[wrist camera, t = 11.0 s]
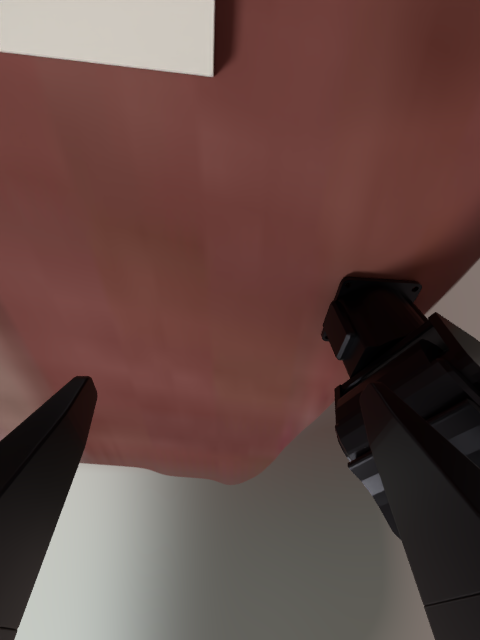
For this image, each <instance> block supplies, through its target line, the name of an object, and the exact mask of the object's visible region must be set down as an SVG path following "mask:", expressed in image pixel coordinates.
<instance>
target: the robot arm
mask: <svg viewBox="0 0 480 640" xmlns="http://www.w3.org/2000/svg"><path fill="white" fill-rule="evenodd" d="M349 282H350V283H349ZM346 283H349V284H348V285H345V284H346ZM414 287H415V288H414ZM413 288H414V289H413ZM421 289H422V286H421V285H420V283H419V282H417V281H405V280H389V279H373V278H357V277H346V278H344V279H342V280H341V282H340V285H339V287H338V290H337V293H336V296H335V298H334V301H332V302H331V304H330V306H329V309H328V312H327V315H326V317H325V320H324V323H323V327H324V328H323V331H322V333H321V336H322V339H323V340H324V341H329V342H330V344H331V347H332V349H333V351H334V354H335V356H336V358H337V359H338V360H342V361H343V363H344V365H345V368H346V370H347V372H348V375H349V377H350V379H349V380H348V381H346V382H345V383H344V384H342V385H339V386H338V387H336V388H335V414H336V425H335V431H336V434H337V438H338V442H339V444H340V446H341V448H342V450H343V452H344V453H345V455H346V457H347V458H348V459H349V461H350V462H349V463H348V467H349V469H350V470H351V471H352V472H353V473H354V474H355V475H356V476H357V477H358V478H359V479H360V480H361V481H362V482H363V484H364V485H365V487H366V488H367V489H368V491H369V492H370V493H371V495H372V496H373V497H374V499H375V501H376V503H377V504H378V506H379V508H380V509H381V511H382V513H383V515H384V517H385V518H386V520H387V522H388V524H389V526H390V527H391V529H392V531H393V532H394V534H395V535H396V536H397V537H399V538H400V539H401V540H402V543H403V546H404V549H405V552H406V554H407V558H408V561H409V564H410V566H411V570H412V572H413V575H414V578H415V581H416V584H417V587H418V590H419V593H420V596H421V599H422V602H423V604H424V605H425V606H424V608H425V611H426V614H427V617H428V620H429V623H430V626H431V629H432V632H433V635H434V638H435V640H480V342H479V341H478V340H476V339H475V338H474V337H472V336H471V335H469V334H468V333H467V332H465V331H463V330H462V329H461V328H459V327H457V326H456V325H454V324H453V323H451V322H450V321H449V320H447V319H446V318H444V317H443V316H441V315H440V314H438V313H436V312H435V313H434V314H432V315H431V316H430V317H428V319H427V318H426V317H425V316H424V315H423V313H422V312H421V311H420V310H419V309H418V308H417V307H416V305H415V304H414V303H413V302H414V301H415V299H416V297H417V296H418V294H419V292H420V291H421ZM96 401H97V391H96V388H95V386H94V383H93V380H92V378H91V377H89V376H76V377H74V378H73V379H72V380H71V381H69V382H68V383H67V384H66V385H65V386H64V387H63V388H61V389H60V390H59V391H58V392H57V393H56V394H54V395H53V396H52V397H51V398H50V399H49V400H47V401H46V402H45V403H44V404H43V405H42V406H41V407H39V408H38V409H37V410H36V411H35V412H34V413H32V414H31V415H30V416H29V417H28V418H27V419H26V420H24V421H23V422H22V423H21V424H20V425H19V426H17V427H16V428H15V429H14V430H13V431H12V432H11V433H9V434H8V435H7V436H6V437H5V438H4V439H2V440H1V441H0V640H14V639H15V636H16V633H17V628H18V627H19V625H20V622H21V619H22V617H23V614H24V611H25V608H26V606H27V603H28V600H29V598H30V595H31V592H32V589H33V587H34V584H35V581H36V579H37V576H38V573H39V571H40V568H41V565H42V562H43V560H44V557H45V554H46V551H47V549H48V546H49V543H50V541H51V538H52V535H53V532H54V530H55V527H56V524H57V522H58V519H59V516H60V514H61V511H62V508H63V506H64V502H65V500H66V497H67V495H68V492H69V489H70V486H71V484H72V481H73V478H74V476H75V473H76V470H77V468H78V465H79V462H80V460H81V457H82V454H83V451H84V448H85V445H86V441H87V438H88V433H89V429H90V425H91V421H92V417H93V413H94V409H95V405H96Z"/></svg>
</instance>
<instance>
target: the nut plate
mask: <svg viewBox="0 0 480 640" xmlns="http://www.w3.org/2000/svg"><path fill="white" fill-rule="evenodd" d="M214 42H215V0H0V52H5V53H13V54H22V55H30V56H39V57H47V58H56V59H64V60H72V61H81V62H89V63H98V64H106V65H115V66H123V67H132V68H140V69H148V70H157V71H165V72H174V73H182V74H191V75H199V76H207V77H214Z"/></svg>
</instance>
